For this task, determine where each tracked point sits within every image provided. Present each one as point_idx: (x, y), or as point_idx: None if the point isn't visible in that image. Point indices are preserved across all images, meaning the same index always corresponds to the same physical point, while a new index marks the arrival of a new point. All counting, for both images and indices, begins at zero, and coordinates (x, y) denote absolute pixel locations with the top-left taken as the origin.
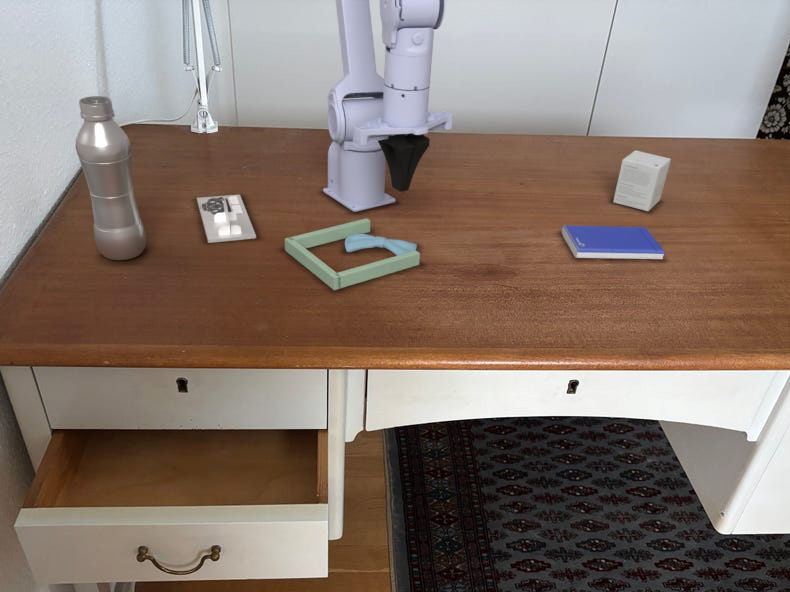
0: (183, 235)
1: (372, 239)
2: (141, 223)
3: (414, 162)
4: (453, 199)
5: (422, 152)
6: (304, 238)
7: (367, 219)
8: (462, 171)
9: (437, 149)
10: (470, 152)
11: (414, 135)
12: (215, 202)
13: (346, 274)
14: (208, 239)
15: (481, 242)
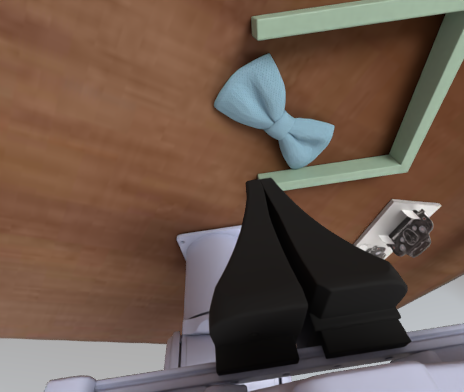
0: (439, 222)
1: (292, 133)
2: None
3: (260, 234)
4: (80, 226)
5: (240, 264)
6: (382, 166)
7: None
8: (45, 282)
9: (69, 319)
10: (22, 313)
11: (270, 348)
12: None
13: None
14: (439, 206)
15: (61, 64)
